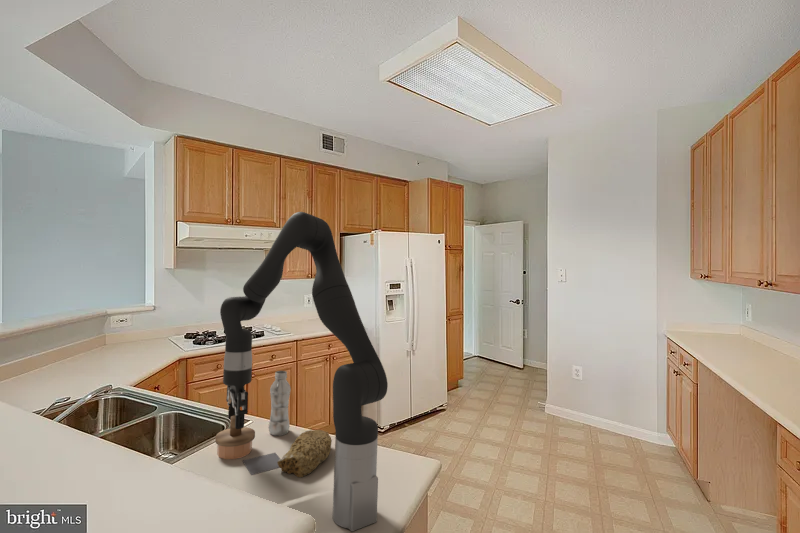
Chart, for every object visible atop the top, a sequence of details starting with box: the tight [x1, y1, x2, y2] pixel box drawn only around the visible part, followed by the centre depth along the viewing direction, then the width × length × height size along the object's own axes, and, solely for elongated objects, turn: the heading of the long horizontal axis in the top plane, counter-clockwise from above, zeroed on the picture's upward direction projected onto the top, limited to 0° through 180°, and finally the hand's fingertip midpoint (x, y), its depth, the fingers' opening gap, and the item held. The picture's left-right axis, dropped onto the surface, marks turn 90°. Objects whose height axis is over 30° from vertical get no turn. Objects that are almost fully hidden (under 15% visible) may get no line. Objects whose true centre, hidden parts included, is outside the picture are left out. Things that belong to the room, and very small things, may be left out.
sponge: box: [278, 429, 333, 478], centre depth 109 cm, size 13×8×20 cm
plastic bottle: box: [268, 370, 291, 437], centre depth 126 cm, size 6×7×20 cm
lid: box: [214, 415, 256, 447], centre depth 112 cm, size 10×10×6 cm
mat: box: [241, 452, 281, 476], centre depth 106 cm, size 9×9×1 cm
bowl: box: [216, 440, 253, 460], centre depth 112 cm, size 9×9×4 cm
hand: (235, 423), depth 112 cm, fingers open, 8 cm apart
